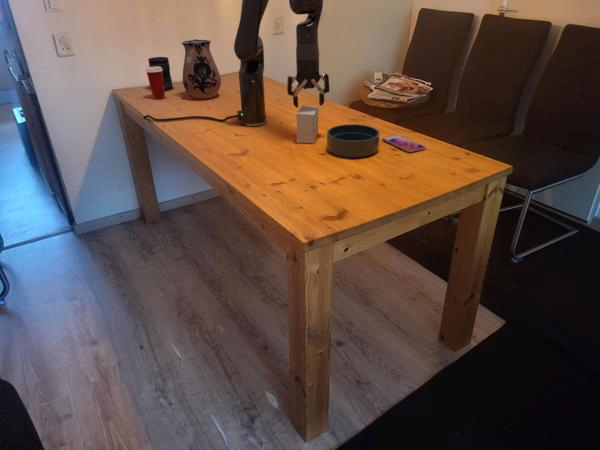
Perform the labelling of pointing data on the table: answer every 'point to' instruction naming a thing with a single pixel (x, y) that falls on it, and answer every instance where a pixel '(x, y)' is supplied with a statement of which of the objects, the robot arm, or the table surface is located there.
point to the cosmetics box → (307, 124)
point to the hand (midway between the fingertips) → (308, 106)
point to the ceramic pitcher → (200, 70)
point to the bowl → (353, 140)
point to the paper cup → (156, 82)
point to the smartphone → (403, 143)
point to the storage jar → (165, 67)
